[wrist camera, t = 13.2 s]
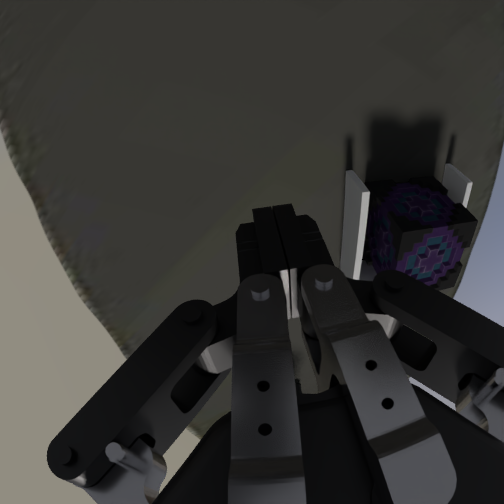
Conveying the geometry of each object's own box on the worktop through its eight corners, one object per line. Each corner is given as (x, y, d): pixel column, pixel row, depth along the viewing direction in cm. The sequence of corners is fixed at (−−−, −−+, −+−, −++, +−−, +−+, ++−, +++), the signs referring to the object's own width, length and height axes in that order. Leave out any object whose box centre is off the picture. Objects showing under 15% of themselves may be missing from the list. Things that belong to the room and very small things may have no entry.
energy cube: (433, 176, 42) (478, 220, 33) (420, 237, 50) (454, 286, 41) (364, 182, 42) (402, 232, 33) (358, 248, 50) (386, 303, 41)
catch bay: (345, 170, 41) (362, 192, 36) (450, 163, 41) (472, 182, 36) (339, 268, 52) (350, 294, 48) (429, 252, 52) (444, 275, 48)
